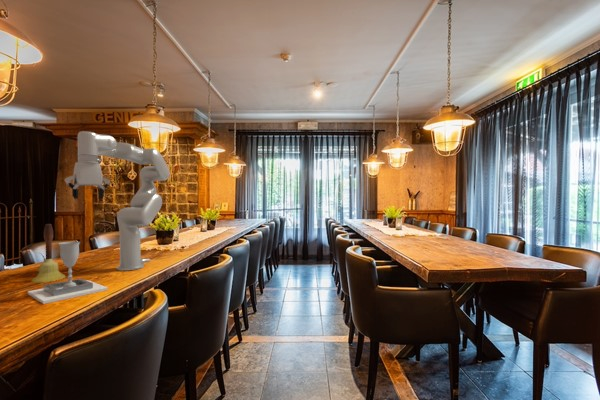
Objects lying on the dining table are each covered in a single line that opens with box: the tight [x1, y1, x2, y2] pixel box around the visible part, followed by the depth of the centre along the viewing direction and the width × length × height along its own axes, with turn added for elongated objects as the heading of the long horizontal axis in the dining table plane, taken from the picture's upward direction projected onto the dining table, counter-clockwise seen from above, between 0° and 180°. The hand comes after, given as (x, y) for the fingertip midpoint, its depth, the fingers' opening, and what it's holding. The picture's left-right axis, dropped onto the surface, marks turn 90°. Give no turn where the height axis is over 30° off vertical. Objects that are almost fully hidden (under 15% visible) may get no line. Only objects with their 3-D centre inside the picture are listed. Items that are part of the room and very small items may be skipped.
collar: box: [42, 278, 93, 296], centre depth 120 cm, size 12×12×2 cm
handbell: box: [30, 223, 67, 284], centre depth 141 cm, size 12×12×25 cm
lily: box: [36, 252, 46, 275], centre depth 155 cm, size 12×12×10 cm
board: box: [27, 279, 109, 305], centre depth 120 cm, size 20×20×1 cm
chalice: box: [57, 241, 81, 288], centre depth 121 cm, size 7×7×18 cm
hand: (88, 198), depth 138 cm, fingers open, 9 cm apart
